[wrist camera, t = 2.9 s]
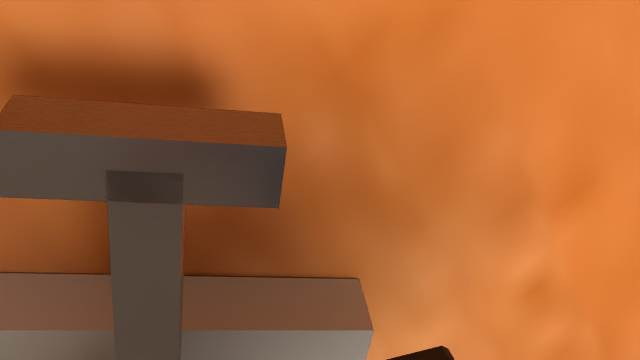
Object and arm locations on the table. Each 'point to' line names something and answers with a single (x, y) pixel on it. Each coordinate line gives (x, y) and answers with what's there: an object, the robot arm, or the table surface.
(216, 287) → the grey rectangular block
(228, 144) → the grey t-handle
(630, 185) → the table surface
